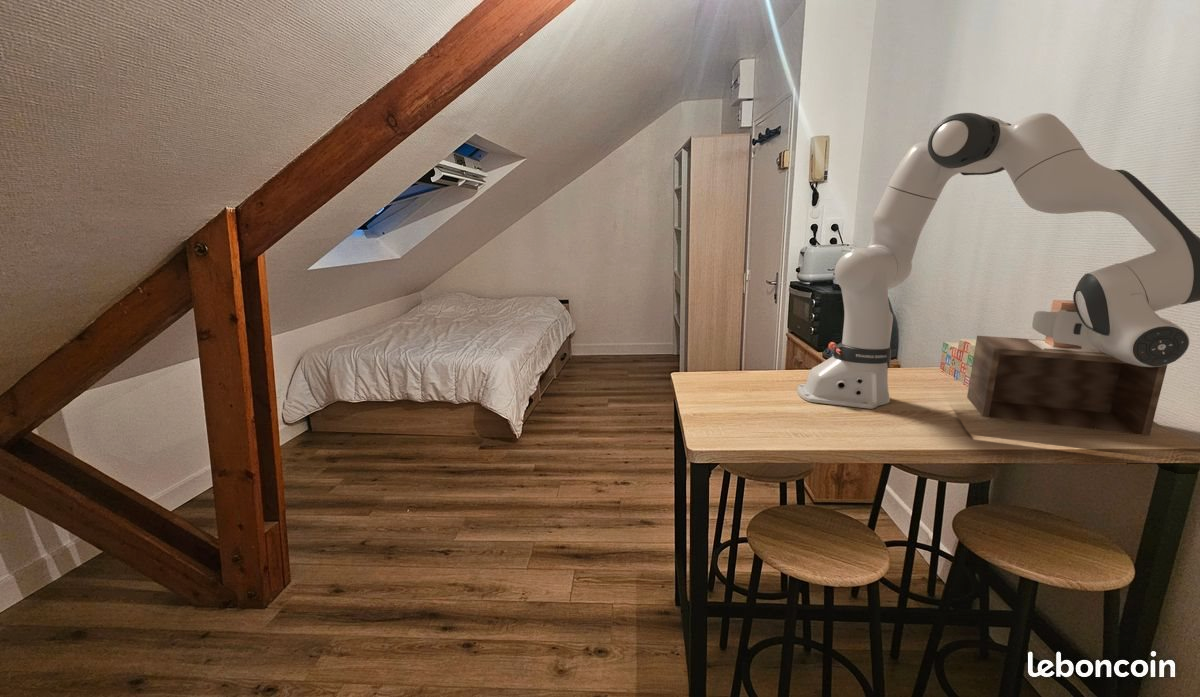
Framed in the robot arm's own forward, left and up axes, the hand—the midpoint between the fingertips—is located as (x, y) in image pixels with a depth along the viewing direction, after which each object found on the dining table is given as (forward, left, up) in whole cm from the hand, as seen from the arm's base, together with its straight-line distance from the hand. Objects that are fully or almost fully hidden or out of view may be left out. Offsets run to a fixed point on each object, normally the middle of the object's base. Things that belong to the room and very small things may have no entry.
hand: (1081, 318), depth 112 cm
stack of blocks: (-3, +37, -25) cm, 45 cm away
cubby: (+1, +5, -25) cm, 25 cm away
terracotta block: (+1, +6, -7) cm, 10 cm away
